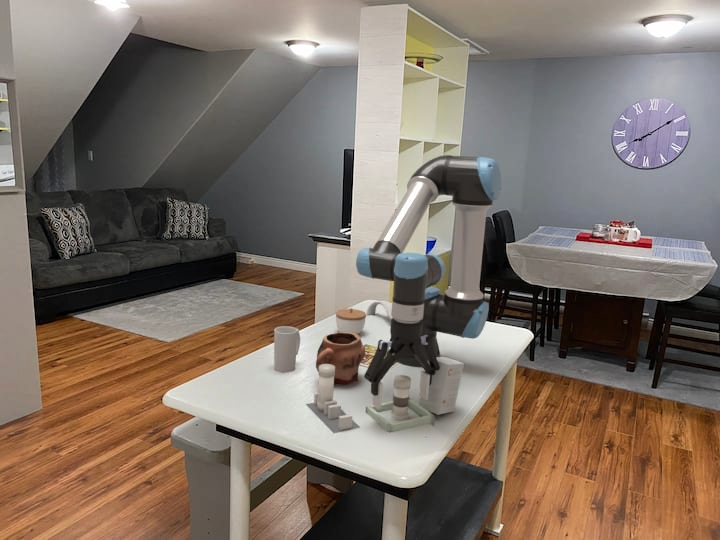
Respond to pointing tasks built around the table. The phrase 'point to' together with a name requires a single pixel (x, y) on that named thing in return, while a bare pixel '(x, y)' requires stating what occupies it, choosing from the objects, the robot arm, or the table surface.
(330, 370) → the holder
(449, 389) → the small box
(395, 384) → the light bulb
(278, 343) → the mug
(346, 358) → the decorative planter
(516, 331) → the table surface
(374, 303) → the grey curved piece
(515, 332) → the table surface
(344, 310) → the lidded jar
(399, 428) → the parts tray
